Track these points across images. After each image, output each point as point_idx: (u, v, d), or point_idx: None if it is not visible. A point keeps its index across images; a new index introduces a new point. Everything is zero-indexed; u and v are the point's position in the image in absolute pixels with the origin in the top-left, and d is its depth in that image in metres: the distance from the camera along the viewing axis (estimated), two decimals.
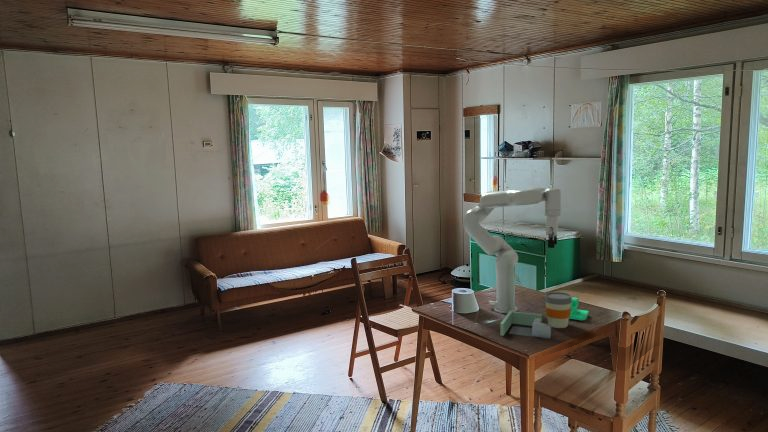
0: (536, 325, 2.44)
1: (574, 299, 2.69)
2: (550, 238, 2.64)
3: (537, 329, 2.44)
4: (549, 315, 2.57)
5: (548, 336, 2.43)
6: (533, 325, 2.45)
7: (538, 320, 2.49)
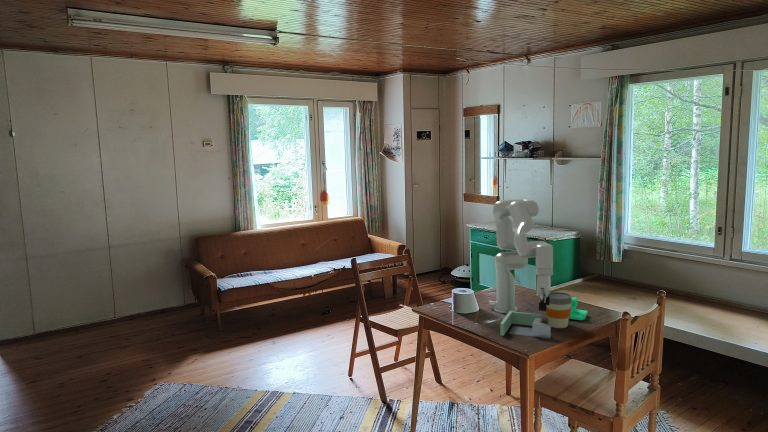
0: (536, 325, 2.44)
1: (573, 299, 2.69)
2: (541, 300, 2.36)
3: (537, 329, 2.44)
4: (549, 315, 2.57)
5: (548, 336, 2.43)
6: (533, 325, 2.45)
7: (538, 320, 2.49)
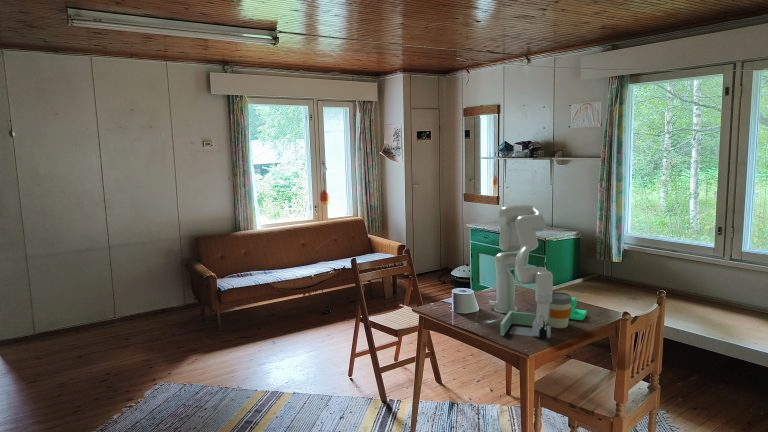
0: (536, 325, 2.44)
1: (572, 299, 2.69)
2: (542, 328, 2.41)
3: (537, 329, 2.44)
4: None
5: (548, 336, 2.43)
6: (533, 325, 2.45)
7: None
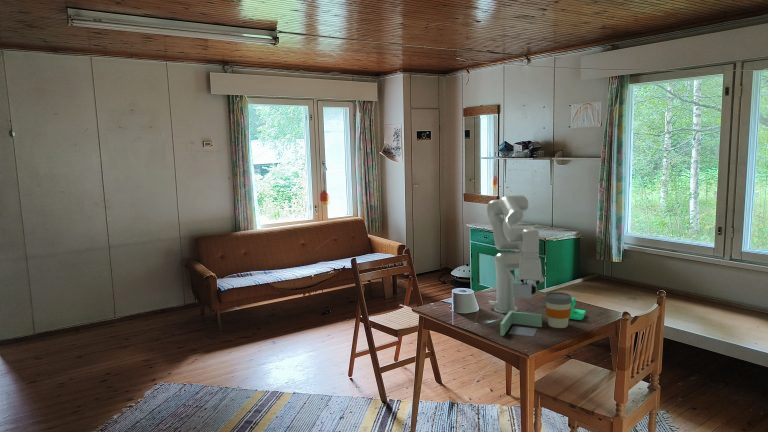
0: None
1: None
2: (538, 283, 2.48)
3: None
4: (549, 315, 2.57)
5: None
6: (531, 287, 2.46)
7: None
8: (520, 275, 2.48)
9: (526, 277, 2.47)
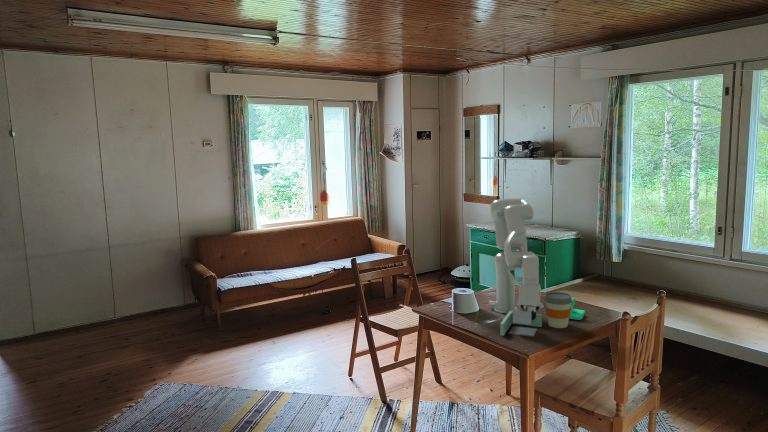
0: None
1: None
2: None
3: None
4: (549, 315, 2.57)
5: None
6: (531, 313, 2.47)
7: None
8: (520, 301, 2.49)
9: (526, 303, 2.48)
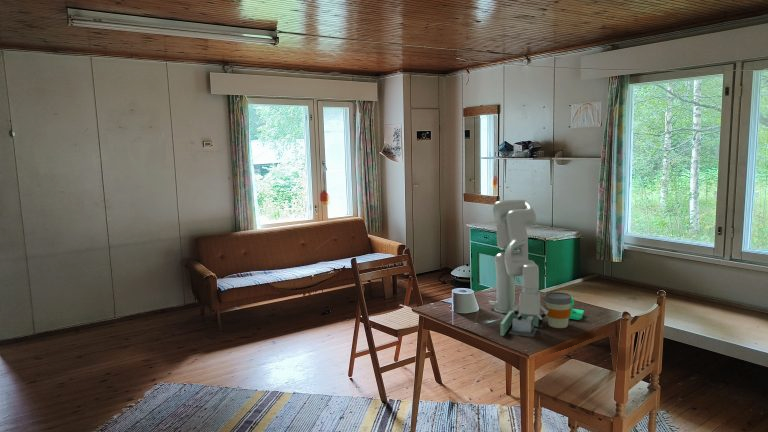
0: (531, 321, 2.49)
1: None
2: (544, 316, 2.48)
3: (531, 325, 2.50)
4: (549, 315, 2.57)
5: (533, 327, 2.55)
6: (531, 323, 2.48)
7: (519, 319, 2.51)
8: (520, 309, 2.50)
9: (526, 312, 2.49)
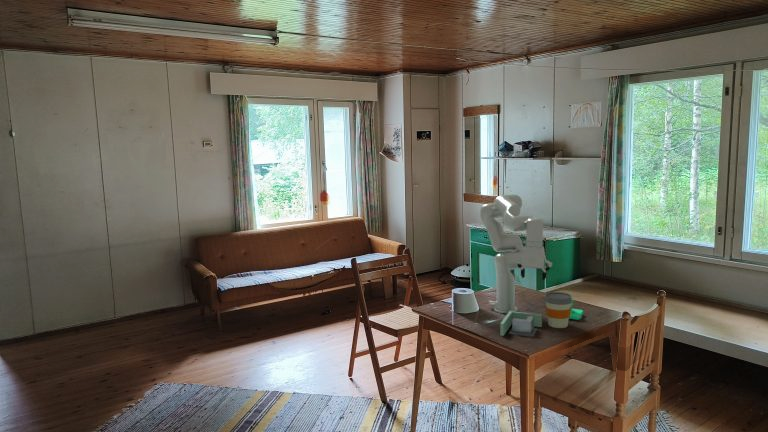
0: (531, 321, 2.49)
1: None
2: (548, 269, 2.52)
3: (531, 325, 2.50)
4: (549, 315, 2.57)
5: (533, 327, 2.55)
6: (531, 323, 2.48)
7: (519, 319, 2.51)
8: (524, 263, 2.54)
9: (529, 265, 2.53)
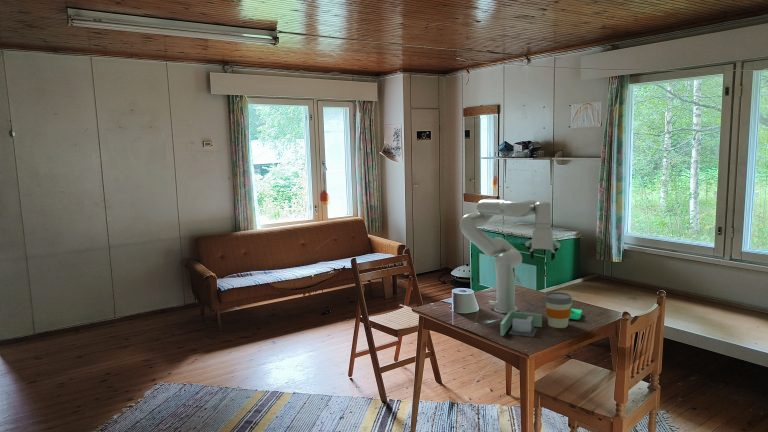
0: (531, 321, 2.49)
1: None
2: (556, 250, 2.64)
3: (531, 325, 2.50)
4: (549, 315, 2.57)
5: (533, 327, 2.55)
6: (531, 323, 2.48)
7: (519, 319, 2.51)
8: (533, 245, 2.66)
9: (539, 246, 2.65)
